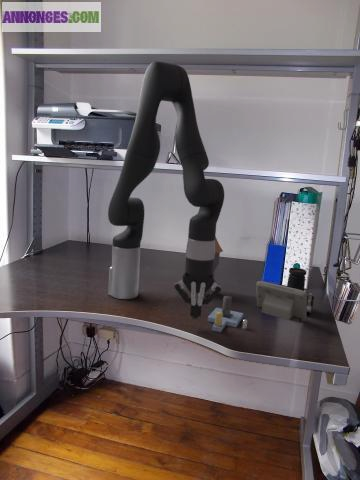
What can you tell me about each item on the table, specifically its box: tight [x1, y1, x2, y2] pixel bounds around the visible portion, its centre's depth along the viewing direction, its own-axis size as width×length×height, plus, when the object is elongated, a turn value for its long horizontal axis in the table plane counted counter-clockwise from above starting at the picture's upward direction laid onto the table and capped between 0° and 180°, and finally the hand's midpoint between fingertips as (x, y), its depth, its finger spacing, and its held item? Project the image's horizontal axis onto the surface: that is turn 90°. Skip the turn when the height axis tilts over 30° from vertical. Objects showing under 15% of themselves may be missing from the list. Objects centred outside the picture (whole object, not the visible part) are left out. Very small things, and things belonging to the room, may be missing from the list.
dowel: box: [241, 318, 248, 330], centre depth 103 cm, size 1×1×3 cm
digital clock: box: [255, 280, 308, 322], centre depth 116 cm, size 16×9×11 cm, turn 45°
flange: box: [207, 307, 244, 333], centre depth 106 cm, size 14×8×5 cm, turn 158°
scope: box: [286, 267, 315, 317], centre depth 122 cm, size 8×14×10 cm
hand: (195, 317), depth 101 cm, fingers closed
